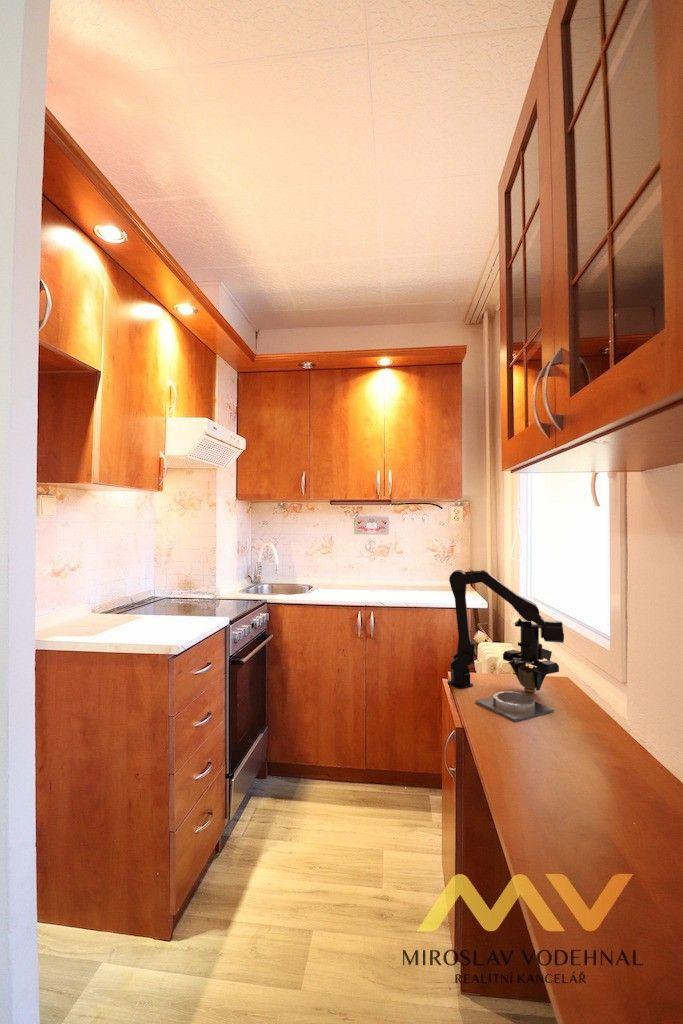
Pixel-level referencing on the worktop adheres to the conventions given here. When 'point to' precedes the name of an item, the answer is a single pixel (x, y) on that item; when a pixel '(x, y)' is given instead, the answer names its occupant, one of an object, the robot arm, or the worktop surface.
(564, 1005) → the worktop surface
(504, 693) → the cup bracket
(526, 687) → the cup
